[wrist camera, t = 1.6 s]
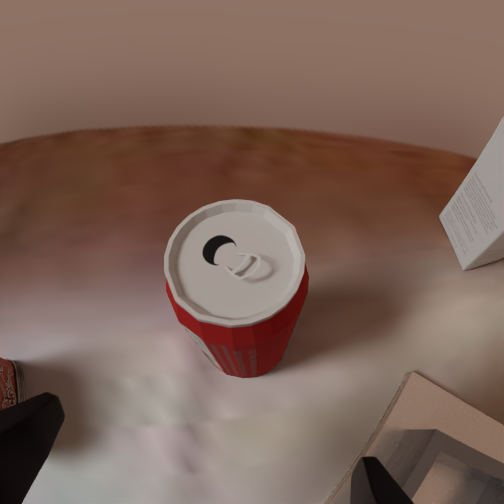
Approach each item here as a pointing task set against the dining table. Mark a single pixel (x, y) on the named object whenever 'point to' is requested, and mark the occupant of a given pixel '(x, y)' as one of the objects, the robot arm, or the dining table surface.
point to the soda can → (237, 283)
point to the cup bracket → (436, 448)
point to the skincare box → (479, 208)
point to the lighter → (11, 383)
